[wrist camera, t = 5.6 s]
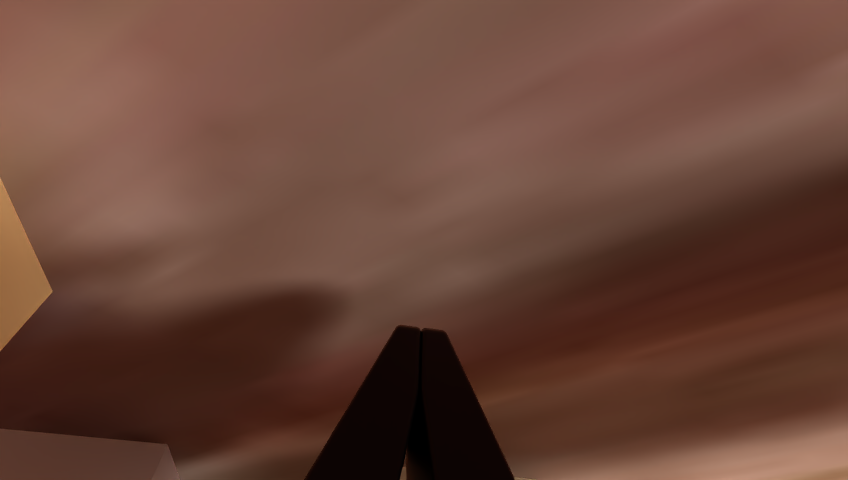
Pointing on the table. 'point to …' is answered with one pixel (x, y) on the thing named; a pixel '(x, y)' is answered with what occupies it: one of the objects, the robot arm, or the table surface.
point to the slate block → (81, 458)
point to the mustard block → (17, 273)
